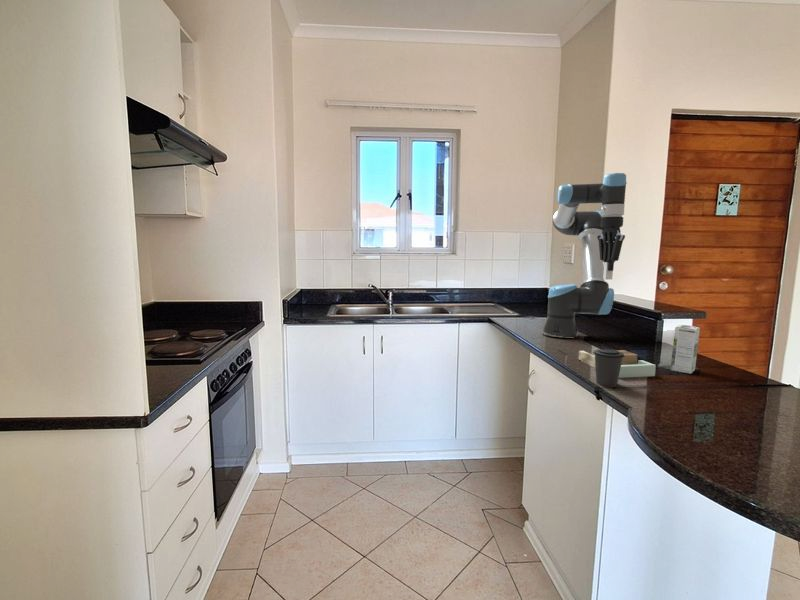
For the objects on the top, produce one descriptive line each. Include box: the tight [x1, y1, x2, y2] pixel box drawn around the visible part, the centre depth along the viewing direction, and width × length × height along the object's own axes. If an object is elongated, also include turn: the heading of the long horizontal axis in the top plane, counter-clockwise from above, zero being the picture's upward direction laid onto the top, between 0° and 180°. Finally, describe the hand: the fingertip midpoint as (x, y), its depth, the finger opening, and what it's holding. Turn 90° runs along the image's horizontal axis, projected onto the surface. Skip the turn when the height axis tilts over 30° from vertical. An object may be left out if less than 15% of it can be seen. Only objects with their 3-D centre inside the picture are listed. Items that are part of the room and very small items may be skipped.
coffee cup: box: [592, 348, 624, 388], centre depth 115 cm, size 8×8×10 cm
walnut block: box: [615, 349, 638, 365], centre depth 128 cm, size 6×6×6 cm
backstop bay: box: [618, 359, 657, 379], centre depth 124 cm, size 6×13×4 cm, turn 99°
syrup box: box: [670, 324, 701, 375], centre depth 127 cm, size 6×6×14 cm
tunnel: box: [578, 349, 614, 369], centre depth 136 cm, size 10×13×4 cm
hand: (607, 279), depth 152 cm, fingers closed
